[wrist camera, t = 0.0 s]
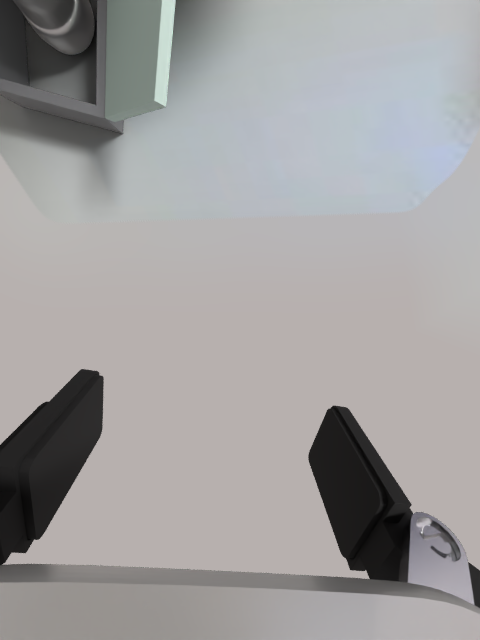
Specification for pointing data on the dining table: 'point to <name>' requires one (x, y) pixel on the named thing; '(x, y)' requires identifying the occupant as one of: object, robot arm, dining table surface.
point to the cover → (137, 56)
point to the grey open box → (13, 83)
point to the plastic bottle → (61, 22)
